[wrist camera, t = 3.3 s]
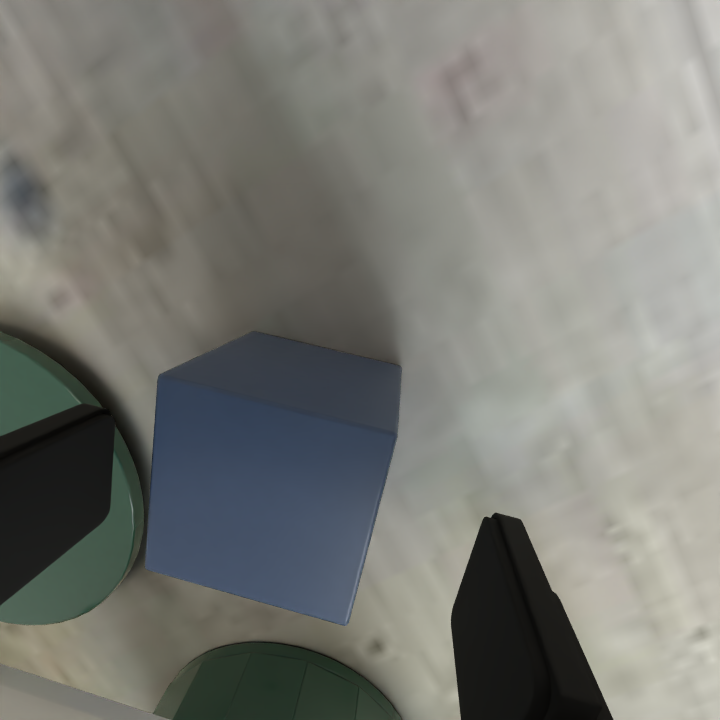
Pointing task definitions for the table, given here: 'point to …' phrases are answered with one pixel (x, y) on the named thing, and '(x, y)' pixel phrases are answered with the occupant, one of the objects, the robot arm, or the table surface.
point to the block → (271, 471)
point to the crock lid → (106, 542)
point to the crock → (271, 687)
